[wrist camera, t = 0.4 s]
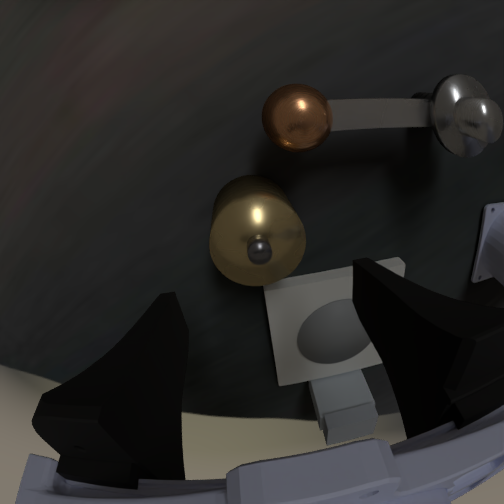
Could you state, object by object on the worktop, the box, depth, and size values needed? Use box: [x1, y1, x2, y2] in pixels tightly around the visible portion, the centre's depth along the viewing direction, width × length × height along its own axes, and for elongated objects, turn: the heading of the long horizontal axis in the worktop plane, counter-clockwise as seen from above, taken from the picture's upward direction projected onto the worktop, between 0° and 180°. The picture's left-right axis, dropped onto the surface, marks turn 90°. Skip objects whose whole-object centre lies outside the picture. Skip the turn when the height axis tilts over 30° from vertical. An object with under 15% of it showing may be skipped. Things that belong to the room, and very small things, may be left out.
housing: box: [209, 175, 306, 286], centre depth 18 cm, size 5×5×6 cm
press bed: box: [263, 257, 405, 445], centre depth 23 cm, size 11×14×7 cm
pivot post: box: [412, 74, 503, 158], centre depth 15 cm, size 5×5×7 cm
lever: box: [262, 84, 432, 152], centre depth 15 cm, size 10×4×4 cm, turn 99°
